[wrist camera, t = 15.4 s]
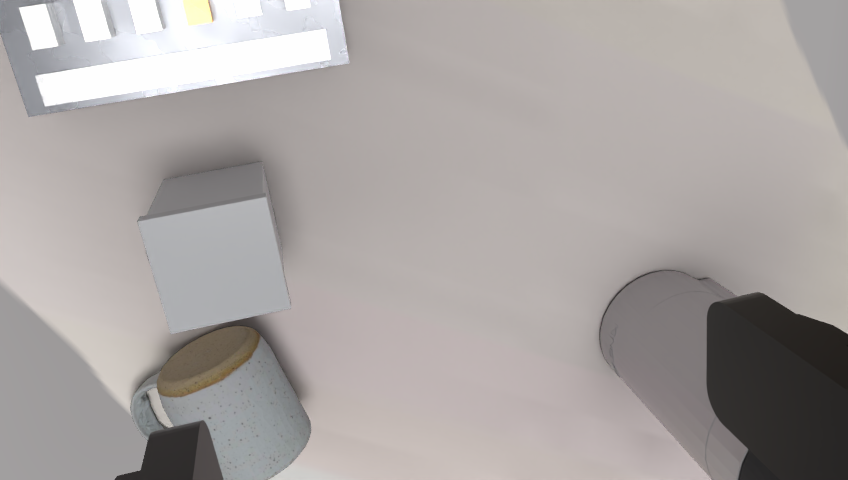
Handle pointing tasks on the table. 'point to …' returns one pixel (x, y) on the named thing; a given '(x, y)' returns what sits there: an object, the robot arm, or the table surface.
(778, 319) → the robot arm
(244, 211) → the junction box
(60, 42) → the breaker strip
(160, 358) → the table surface
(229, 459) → the ceramic mug
